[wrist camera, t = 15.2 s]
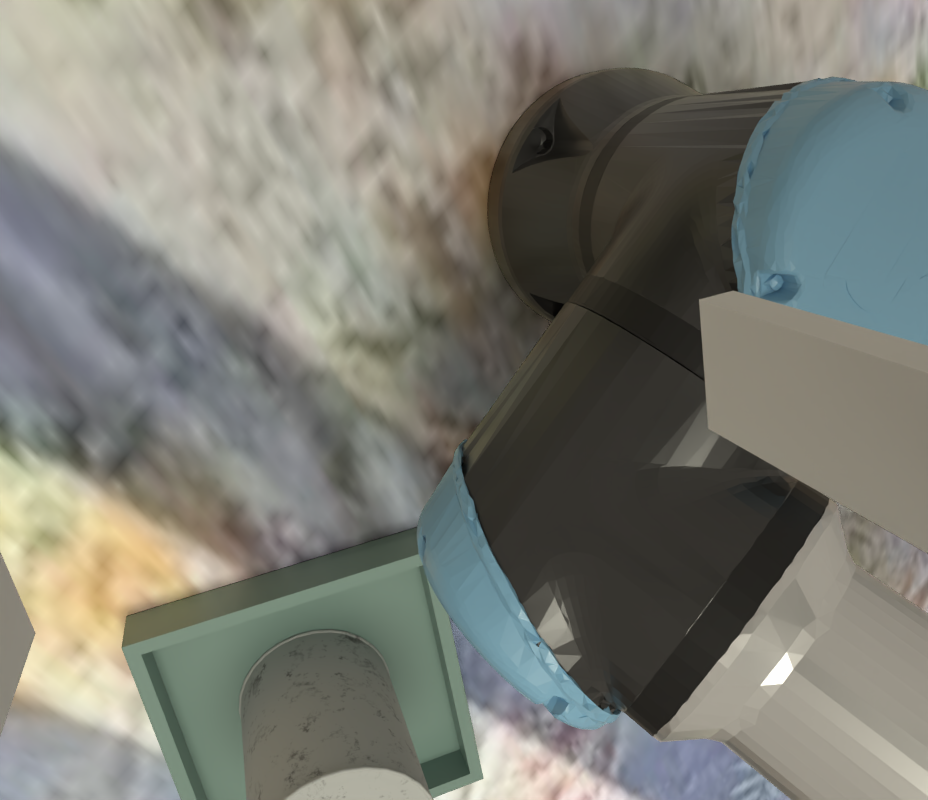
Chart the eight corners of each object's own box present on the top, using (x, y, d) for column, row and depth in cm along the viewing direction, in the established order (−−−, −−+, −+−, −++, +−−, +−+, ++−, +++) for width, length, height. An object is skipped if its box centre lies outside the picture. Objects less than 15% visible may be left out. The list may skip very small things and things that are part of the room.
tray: (421, 525, 51) (434, 549, 48) (469, 746, 57) (483, 778, 55) (126, 616, 47) (121, 647, 44) (212, 842, 53) (213, 882, 51)
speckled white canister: (347, 601, 50) (389, 733, 39) (414, 705, 54) (469, 853, 43) (208, 683, 49) (210, 844, 38) (286, 783, 53) (309, 956, 42)
